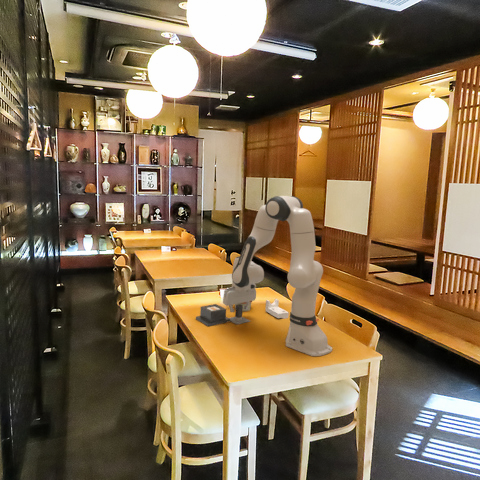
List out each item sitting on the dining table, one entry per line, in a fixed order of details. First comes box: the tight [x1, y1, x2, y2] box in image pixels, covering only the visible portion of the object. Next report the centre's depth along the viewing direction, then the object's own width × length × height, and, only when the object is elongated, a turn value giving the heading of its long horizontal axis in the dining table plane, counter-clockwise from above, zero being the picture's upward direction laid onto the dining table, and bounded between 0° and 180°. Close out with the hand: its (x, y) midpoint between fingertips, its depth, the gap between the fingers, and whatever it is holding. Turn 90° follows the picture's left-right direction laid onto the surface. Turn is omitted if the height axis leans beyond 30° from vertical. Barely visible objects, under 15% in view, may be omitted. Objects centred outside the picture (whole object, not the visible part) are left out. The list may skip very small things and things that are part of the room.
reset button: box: [207, 306, 219, 311], centre depth 205 cm, size 6×6×5 cm
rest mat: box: [228, 316, 251, 326], centre depth 208 cm, size 9×9×1 cm
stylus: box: [234, 304, 243, 321], centre depth 207 cm, size 3×3×8 cm
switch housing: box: [195, 303, 231, 328], centre depth 205 cm, size 12×14×7 cm
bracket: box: [264, 298, 290, 319], centre depth 219 cm, size 13×7×8 cm, turn 28°
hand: (239, 310), depth 207 cm, fingers open, 8 cm apart
